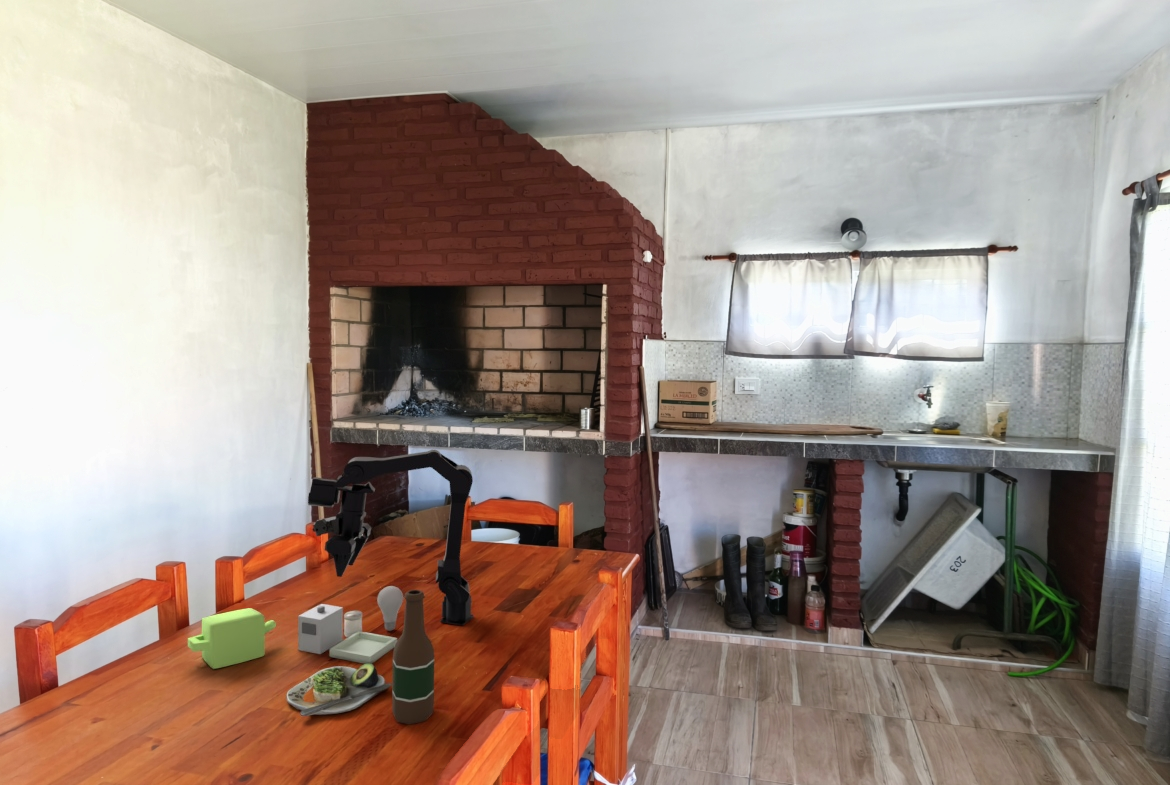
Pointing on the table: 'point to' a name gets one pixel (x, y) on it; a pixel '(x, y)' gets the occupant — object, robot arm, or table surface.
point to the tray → (363, 647)
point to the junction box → (320, 628)
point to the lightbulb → (390, 605)
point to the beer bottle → (413, 666)
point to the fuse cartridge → (352, 623)
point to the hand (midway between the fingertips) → (345, 570)
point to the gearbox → (232, 637)
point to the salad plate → (337, 690)
